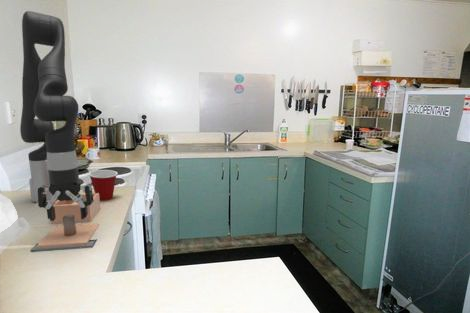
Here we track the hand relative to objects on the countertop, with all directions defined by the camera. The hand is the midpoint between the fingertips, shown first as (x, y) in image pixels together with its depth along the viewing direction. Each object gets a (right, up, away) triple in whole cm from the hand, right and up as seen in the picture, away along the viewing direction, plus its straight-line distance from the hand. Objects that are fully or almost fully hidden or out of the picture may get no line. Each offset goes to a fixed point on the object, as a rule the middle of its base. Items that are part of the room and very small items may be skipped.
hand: (68, 219), depth 89 cm
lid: (0, -5, +1) cm, 6 cm away
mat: (0, -6, +1) cm, 6 cm away
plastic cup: (-4, 0, +34) cm, 35 cm away
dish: (-6, -3, +16) cm, 17 cm away
